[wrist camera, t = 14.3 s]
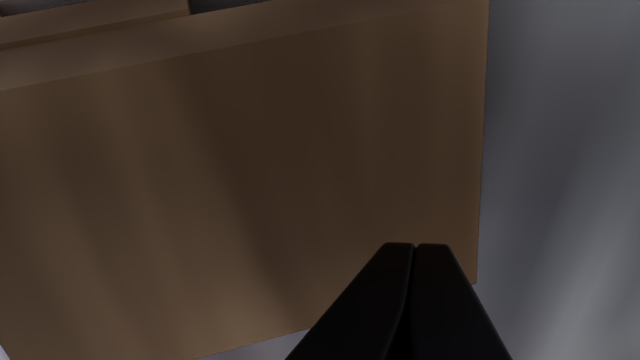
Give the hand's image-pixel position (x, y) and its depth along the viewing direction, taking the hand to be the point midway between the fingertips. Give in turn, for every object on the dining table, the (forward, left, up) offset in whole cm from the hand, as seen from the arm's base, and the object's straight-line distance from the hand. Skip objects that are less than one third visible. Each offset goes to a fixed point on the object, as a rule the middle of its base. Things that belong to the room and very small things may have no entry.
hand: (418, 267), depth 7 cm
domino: (0, 0, -4) cm, 4 cm away
